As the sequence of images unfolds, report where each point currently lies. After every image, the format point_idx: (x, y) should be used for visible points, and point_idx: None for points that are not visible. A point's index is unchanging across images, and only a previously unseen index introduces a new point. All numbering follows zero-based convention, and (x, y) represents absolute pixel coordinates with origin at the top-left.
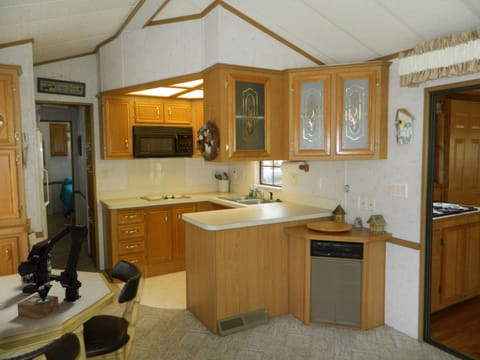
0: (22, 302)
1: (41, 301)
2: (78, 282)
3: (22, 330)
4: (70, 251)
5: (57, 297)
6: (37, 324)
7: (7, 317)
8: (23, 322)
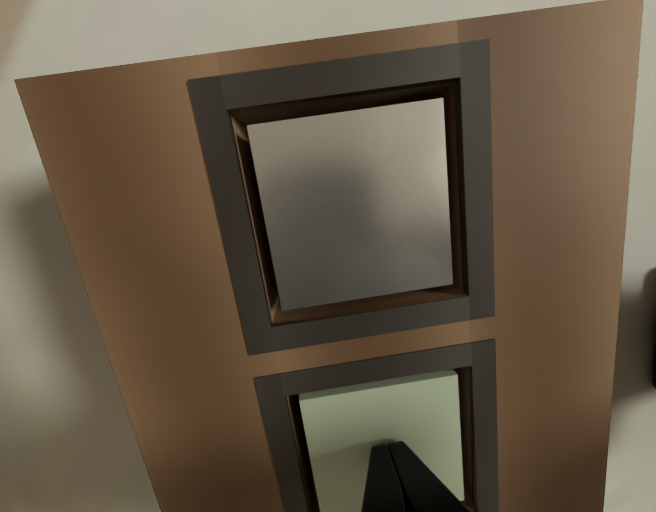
0: (124, 148)
1: (354, 447)
2: None
3: (10, 484)
4: None
5: (580, 506)
6: (155, 495)
7: (57, 48)
8: (103, 353)
